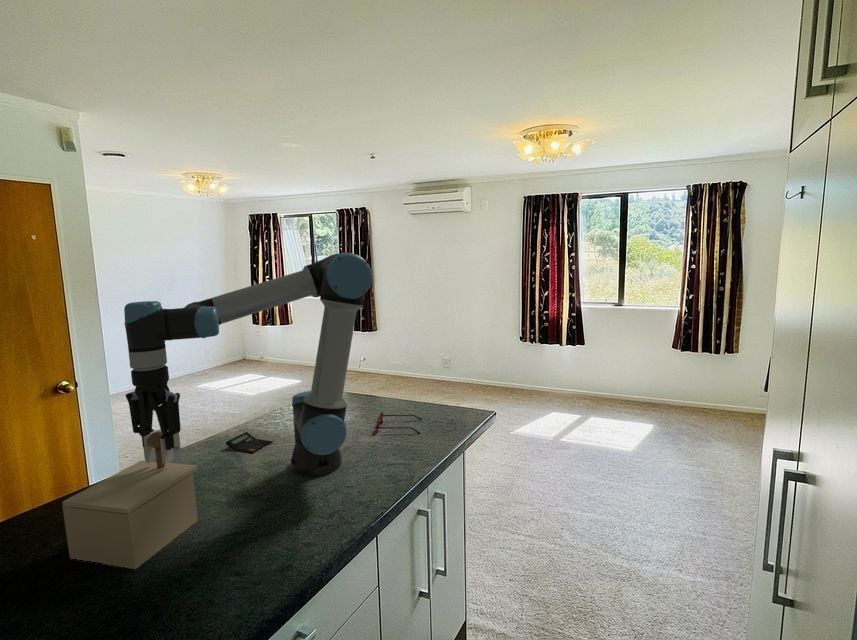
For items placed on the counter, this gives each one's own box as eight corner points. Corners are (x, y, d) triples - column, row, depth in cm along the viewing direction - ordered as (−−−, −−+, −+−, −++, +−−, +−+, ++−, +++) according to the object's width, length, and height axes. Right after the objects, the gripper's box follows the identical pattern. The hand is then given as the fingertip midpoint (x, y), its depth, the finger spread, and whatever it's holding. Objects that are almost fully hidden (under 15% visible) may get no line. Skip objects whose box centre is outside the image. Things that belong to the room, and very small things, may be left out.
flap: (198, 469, 112) (193, 430, 111) (127, 513, 93) (121, 467, 92) (141, 464, 116) (137, 426, 115) (63, 506, 97) (56, 461, 96)
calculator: (253, 454, 151) (252, 445, 150) (226, 450, 155) (225, 441, 154) (272, 443, 159) (272, 435, 159) (246, 439, 163) (245, 431, 163)
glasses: (380, 421, 178) (380, 409, 177) (423, 421, 177) (422, 408, 177) (374, 435, 164) (373, 421, 164) (420, 434, 163) (420, 421, 163)
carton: (197, 520, 112) (192, 474, 110) (135, 569, 95) (128, 514, 93) (139, 513, 116) (134, 468, 114) (70, 559, 99) (62, 506, 97)
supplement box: (159, 480, 134) (154, 438, 132) (145, 474, 138) (141, 434, 136) (183, 469, 140) (179, 430, 138) (170, 464, 144) (166, 426, 142)
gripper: (191, 364, 110) (201, 457, 113) (133, 362, 114) (143, 452, 117) (167, 371, 103) (178, 470, 106) (105, 369, 107) (118, 465, 110)
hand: (160, 460), depth 112 cm, fingers closed on flap, 4 cm apart
